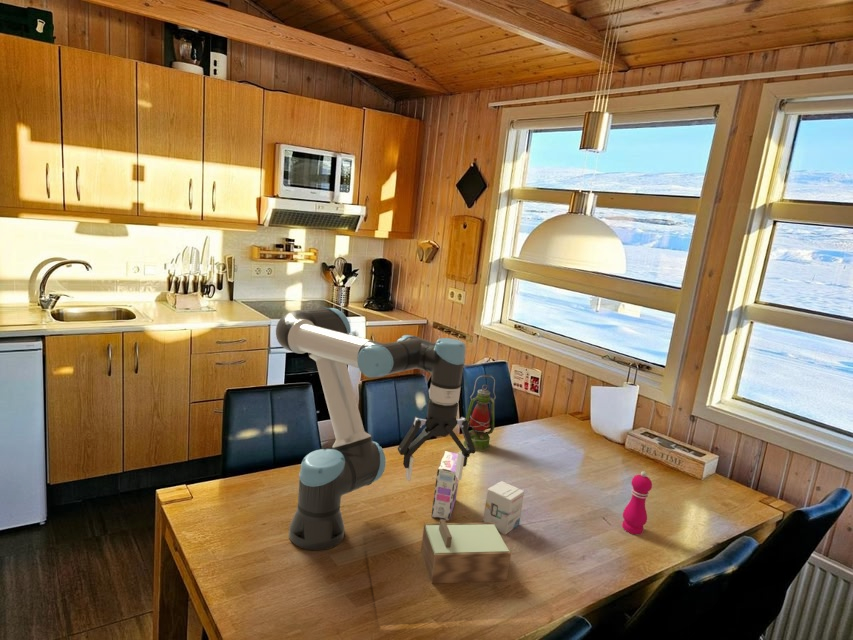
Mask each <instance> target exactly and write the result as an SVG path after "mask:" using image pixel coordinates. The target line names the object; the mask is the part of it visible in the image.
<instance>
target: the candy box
mask: <svg viewBox="0 0 853 640" xmlns="http://www.w3.org/2000/svg"><path fill="white" fill-rule="evenodd" d="M457 457H458V452H453V451H446V450H445V451H444V454H443V456H442V458H441V460H440V462H439V466H438V468H437V472H436V479H435V487H434V494H433V500H432V501H433V503H432V510H431V517H432V518H435V519H439V520H440V519H445V521H448V522H449V521H450V520H451V516H452V513H453V509H454V507H455V503H456V500H457V492H458V488H459V487H458V485H459V480H458V479H457V477H456V476H455V472H456V464H457Z"/></svg>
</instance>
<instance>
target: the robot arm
mask: <svg viewBox="0 0 853 640" xmlns="http://www.w3.org/2000/svg"><path fill="white" fill-rule="evenodd" d="M350 333H351V325H350V321H349V319H348V318H347V316H346V314H345V313H344V312H343V311H341V310H339V309H337V308H334V307H321V308H311V309H298V310H291V311H289V312H286V313H285V314H284V315H282V317H281V318H280V319H279V320H278V322H277V325H276V327H275V336H276V337H275V338H276V340H277V342H278V344H279V346H281V347H282V348H283V349H285V350H287V351H289V352H292V353H295V354H302V355H303V354H305V353H308V357H309V358H310V359H312V360H313V361H314V362H315V363H316V368H317V371H318V375H319V380H320V383H321V386H322V391H323V394H324V399H325V403H326V406H327V409H328V414H329V418H330V422H331V426H332V429H333V433H334V436H335V440H334V441H335V442H334V443H333V444H332V448H326V449H324V448H320V449H316V450H313V451H311V452H309V453H307V454H306V455H305V456H304V457H303V459H302V461H301V464H300V470H299V473H298V478H299V480H298V483H299V484H298V493H297V494H298V497H297V508H296V510H295V512H294V515H293V517H292V519H291V522H290V523H289V529H288V538H289V539H290V541H291V542H292V543H293V544H294V545H295V546H297V547H299V548H301V549H303V550H304V549H305V550H307V551H308V550H309V551H310V550H311V551H324V550H328V549H331V548H335V546H337V545H339V544H340V543H341V542H343V540H344V536H345V524H344V520H343V516H342V512H341V501H342V497H343V496H344V495H346V494H348V493H352V492H353V491H356V490H358V489H361V488H363V487H367V486H370V485H372V484H373V483H375V482H376V481H378V480H379V479H381V477H382V476H383V474H384V472H385V469H386V465H387V464H386V463H387V462H386V455H385V452H384V449H383V448H382V446H380V444H379V443H378V442H377V441H373V439H372V435H371V434H369V433H368V432H367V431H365V428H364V425H363V420H362V417H361V413H360V410H359V406H358V402H357V398H356V395H355V392H354V387H353V383H352V380H351V375H350V372H349V369H348V366H351V367H354V368H357V369H359V371H360V373H362V374H363V376H365V377H367V378H382V377H385V376H390V375H393V374H398V373H402V372H405V371H410V370H416V369H418V370H421V371H424V372H427V373H430V374H431V378H430V380H431V381H430V386H429V387H430V388H429V395H428V397H429V400H428V402H427V410H426V417H425V418H419V417H418V416H415V417H414V418H413V421H412V425H411V426H410V428H409V430H408V431H407V433H406V434H405V436H404V437H403V439H402V441H401V442H400V443H399V445H398V447H397V451H398V453H399V454H400V456H403V460H402V461H403V462H402V465H403V467H404V468H405V475H404V476H405V479H406V481H407V482H408V483H409V482H411V481H412V475H413V467H414V465H413V464H414V459H415V458H414V456H413V454H415V453H416V452H417V451H418V449H420V448H421V446H423V444H424V443H425V442H426V441H427V440H429V439H431V437H436V438H438V437H443V438H444V437H447V436H448V435H449V436H450V437H451V439H452V440H453V441H454V443H455V444H456V445H457V447H458V448H459V450H460V451H458V452H457V453H458V457H457V464H456V472H455V476H456V477H457V479H458V481H462V478H463V477H462V475H463V470H464V467H467V463H468V458H469V457H470V456H471V454H475V453H476V452H477V451H475V448H474V445H473V442H472V439H471V436H470V434H469V431H470V430H469V427H468V421H467V420H466V417H464V416H461V417H460V418H457V416H458V410H459V403H458V402H459V401H460V394H461V388H462V386H461V385H462V377H463V372H464V367H465V361H466V350H467V349H466V344H465V343H464V342H463V341H461V340H458V339H456V338H455V339H454V338H449V337H442V338H441V337H440V338H438V339H437V340H436V342H433V341H430V340H428V339H427V340H426V339H423V338H421V337H418V336H417V335H410V334H404V335H402V336H400V338H398V339H397V340H396V341H394V342H386V343H385V342H384V343H383V342H380V341H376V340H372V339H369V338H364V337H361V336H357V335H352V334H350ZM424 425H425V427H424V428H423V429H422V431H421V433H419V431H420V429H421V428H422V427H423V426H424ZM457 425H458V427H459V428H460V429H461V431H462V433H461V434H462V435H463V438H464V441H466V444H467V448H466V447H465V446H464V444H463V443H462V442H461V440H460V439H459V437H458V436H457V434H456V433H455V431H454V429H455V428H456V427H457ZM418 433H419V435H418V436H417V434H418ZM416 436H417V437H416Z"/></svg>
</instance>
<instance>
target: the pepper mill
mask: <svg viewBox="0 0 853 640" xmlns="http://www.w3.org/2000/svg"><path fill="white" fill-rule="evenodd" d="M631 487H632V488H631V492H630V493H631V499H630V500H629V502H628V504H627V505H626V506H625V508H624V509H623V513H622V518H623V520H622V524H621V526H622V529H623V528H624V529H623V530H624V531H625V530H626V531H625V532H627V533H628V532H629V534H631V533H632V534H631V535H635V534H639V535H642V534H643V532H644V525H646V523H647V520H648V513H647V510H646V500H647V498H649V492H650V491H651V490H652V489H653V488H652V487H653V483H652V479H650V477H648V474H647V472H646V471H644V470H643V471H641V472H640V474H637V475H636V474H635V475H634V476H633V477H632V479H631ZM641 533H642V534H641Z"/></svg>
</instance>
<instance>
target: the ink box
mask: <svg viewBox="0 0 853 640" xmlns="http://www.w3.org/2000/svg"><path fill="white" fill-rule="evenodd" d="M486 491H487V492H486V499H485V503H484V512H483V519H482V523H491V522H494V525H495V527H496V529H497V530H498V532H499V533H501V534H503V535H507V534H509V533H510V532H511V531H513V530H514V529H515V528H516V527H519V526H520V521H521V515H522V507H523V503H524V496H525V495H524V494H525V490H523V489H521V488H519V487H516V486H514V485H512V484H509V483H508V482H505V481H503V480H501V481H499V482H497V483H495V484H494V485H492V486H490V487H488V488H487V490H486Z"/></svg>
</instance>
